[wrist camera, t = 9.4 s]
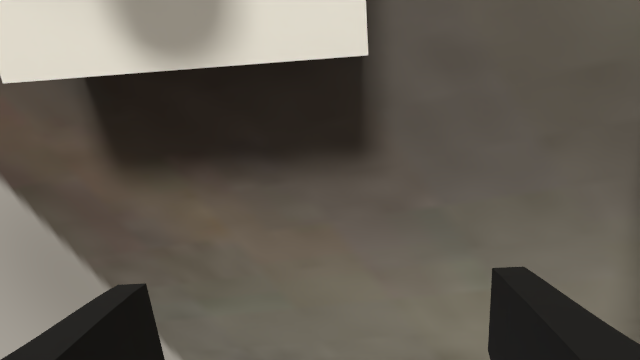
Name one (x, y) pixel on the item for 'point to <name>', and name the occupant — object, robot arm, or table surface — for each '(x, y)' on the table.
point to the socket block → (171, 35)
